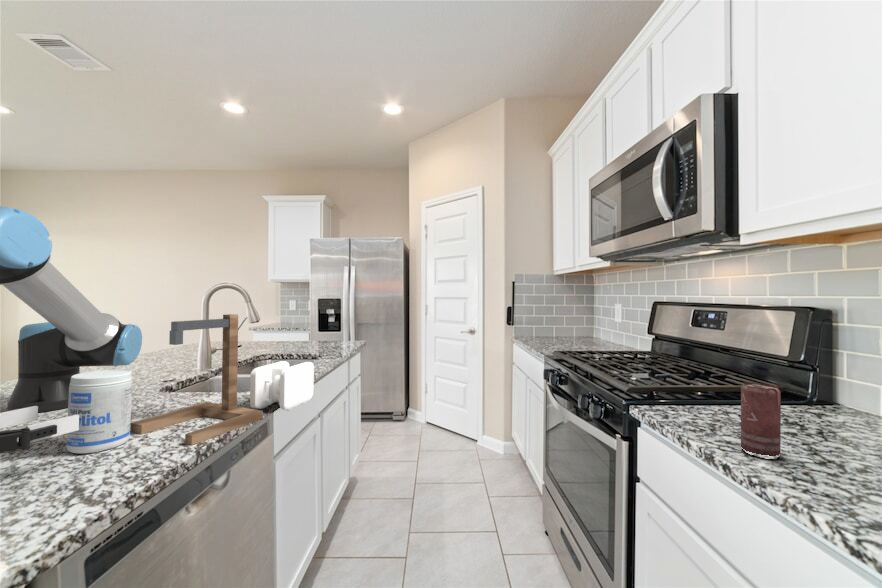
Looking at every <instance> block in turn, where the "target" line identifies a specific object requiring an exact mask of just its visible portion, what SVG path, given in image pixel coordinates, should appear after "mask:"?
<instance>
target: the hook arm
mask: <svg viewBox="0 0 882 588" xmlns="http://www.w3.org/2000/svg"><path fill="white" fill-rule="evenodd" d="M223 327H229V319H223V318H216V319H215V318H212V319H211V318H209V319H195V320H194V319H193V320H192V319H191V320H176V321H171V322H170V330H169V338H168V339H169V345H173V346H177V345H184V331H193V330H194V331H195V330H207V329H220V328H222V329H223Z"/></svg>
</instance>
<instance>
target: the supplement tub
mask: <svg viewBox="0 0 882 588" xmlns="http://www.w3.org/2000/svg"><path fill="white" fill-rule="evenodd" d="M132 374H133V373H132V370H128V369H103V370H94V371H93V370H92V371H87V372H80V374H76V375H73V376H71V381H70V386H69V399H68V408H67V417H68V416H73V415H79V430H77V431H74V432H70V433H66V446H65V447H66V450H67V451H68V452H70V453H73V454H84V455H85V454H94V453H99V452H102V451H106V450H111V449H114V448H117V447H119V446H122V445H124V444H125V443H126V442H128V441H129V440H130V437H131V432H130V423H131V422H132V421H131V420H132V419H131V416H132V398H133V397H132V394H133V393H132V392H133V376H132Z"/></svg>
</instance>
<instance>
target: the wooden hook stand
mask: <svg viewBox="0 0 882 588" xmlns="http://www.w3.org/2000/svg"><path fill="white" fill-rule="evenodd" d="M222 315H223V316H222V319H229V327H222V354H221V355H222V358H221V359H222V361H221V362H222V363H221V364H222V365H221V366H222V368H221V403H215V402H209V401H205V402H201V403H197V404H194V405H190V406H187V407H182V408H179V409H175V410H173V411H168V412H165V413H162V414H161V413H160V414H157V415H154V416H150V417H147V418H146V417H145V418H143V419H139V420H136V421H131V423H130V433H134V434H139V435H144V434H146V433H151V432H155V431H156V430H160V429H163V428H166V427H169V426H173V425H176V424H179V423H182V422H186V421H189V420H192V419H195V418H199V417H202V415H203V417H210V418H214V419H220V420H222V421H221V422H217V423H214V424H211V425H209V426H206V427H202V428H199V429H197V430H194V431H191V432H188V433H185V435H184V436H185V438H184V443H185V444H184V445H189V446H194V445H197V444H199V443H201V442H205V441H207V440H209V439H212V438H215V437H218V436H220V435H223V434H226V433H228V432H232V431H233V430H237V429H239V428H242V427H244V426H247V425H250V424H252V423H255V422H257V421H260V420H263V410H261V409H255V408H247V407H241V406H238V360H239V359H238V355H239V351H238V350H239V349H238V348H239V347H238V346H239V314H235V313H233V314H232V313H231V314H230V313H229V314H222Z"/></svg>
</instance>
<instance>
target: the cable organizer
mask: <svg viewBox="0 0 882 588" xmlns="http://www.w3.org/2000/svg"><path fill="white" fill-rule="evenodd" d="M314 374H315V364H314V363H313V362H311V361H304V362H301V363H298V364H294V365H291V366H290V363H289V362H288V361H284V360H280V361H276V362H272V363H267V364H265V365H261V366H258V367H255V368H253V369H252V370H251V372H250V378H249V379H250V381H249V382H250V383H249V384H250V385H249V405H250V407H251V409H258V410H261V409H264V408H267V407H269V406H272V404H274V403H278V405H279V408H280V409H281V410H285V411H286V412H289V411H292V410H294V409H295V408H296V407H297V406H300V405H305V404H306V403H308V402H310V400H311V399H312V397H314V390H315V389H314V388H315V387H314V385H315V384H314V383H315V379H314V378H315V375H314Z"/></svg>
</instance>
